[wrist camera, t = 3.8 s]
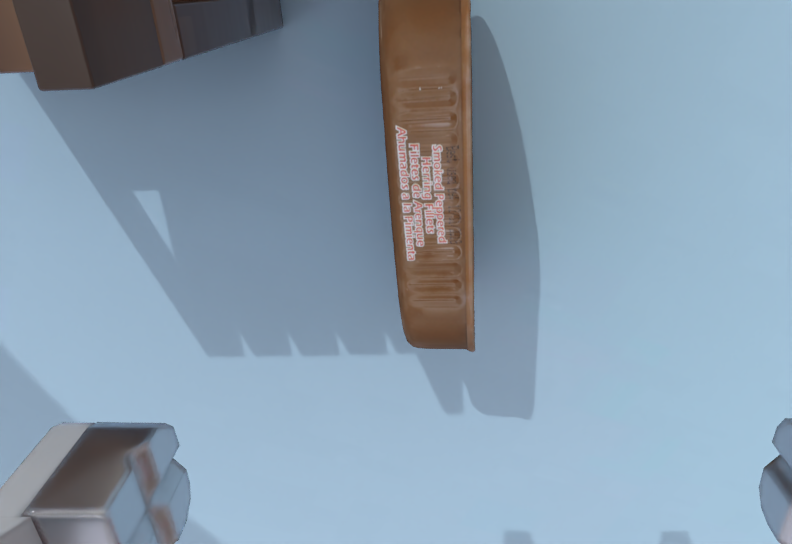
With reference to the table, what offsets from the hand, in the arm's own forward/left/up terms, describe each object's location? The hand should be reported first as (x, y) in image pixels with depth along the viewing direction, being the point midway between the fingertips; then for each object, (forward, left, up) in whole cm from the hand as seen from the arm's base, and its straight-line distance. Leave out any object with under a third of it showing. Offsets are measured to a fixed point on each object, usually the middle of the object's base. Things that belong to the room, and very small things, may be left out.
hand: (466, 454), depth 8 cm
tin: (0, 0, -19) cm, 19 cm away
